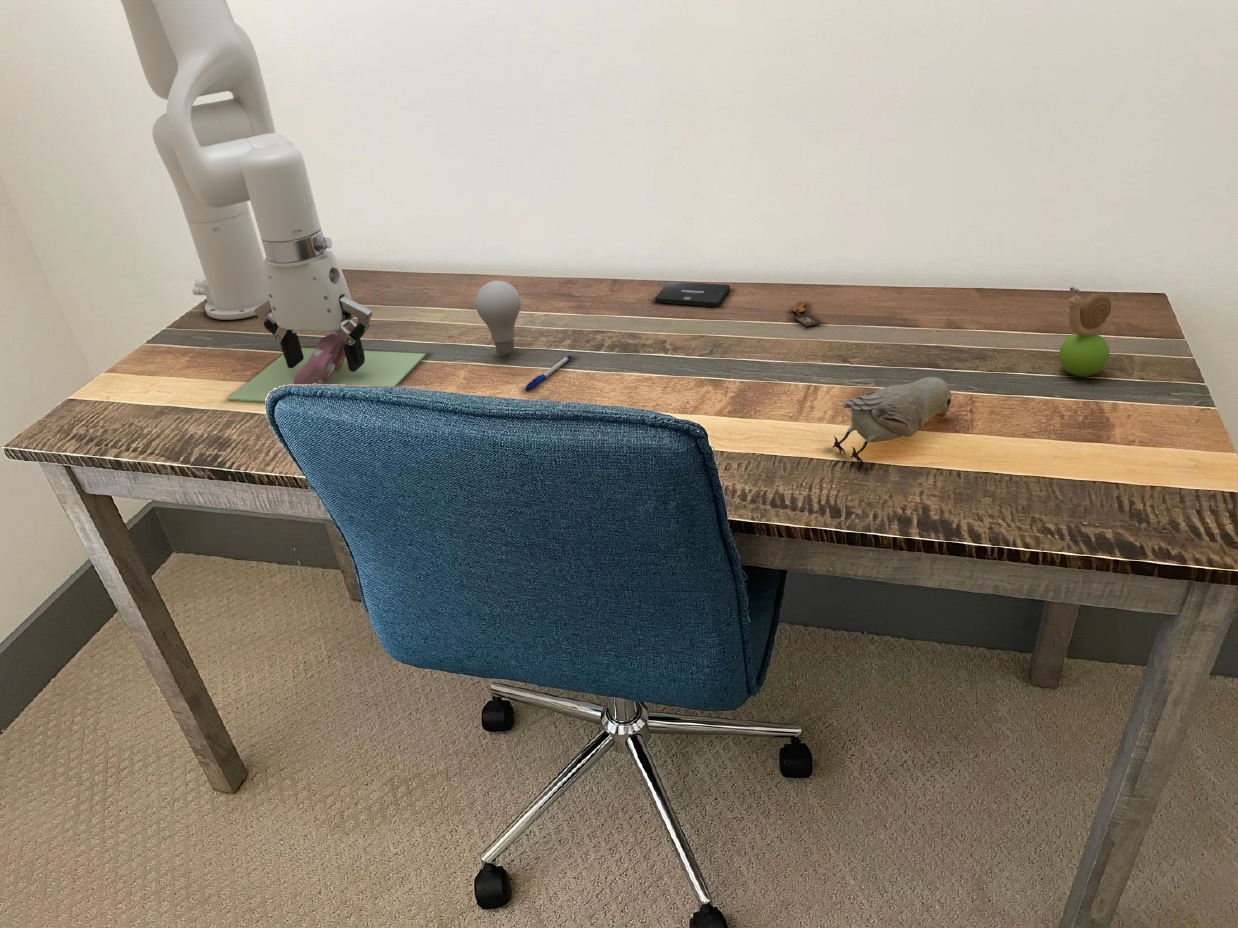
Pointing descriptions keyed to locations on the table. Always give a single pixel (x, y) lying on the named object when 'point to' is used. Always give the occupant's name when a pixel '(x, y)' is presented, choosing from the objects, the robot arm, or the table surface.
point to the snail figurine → (1086, 335)
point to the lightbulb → (499, 313)
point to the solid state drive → (692, 293)
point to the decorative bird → (896, 411)
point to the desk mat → (373, 372)
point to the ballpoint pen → (546, 374)
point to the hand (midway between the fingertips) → (326, 365)
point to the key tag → (804, 316)
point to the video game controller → (323, 360)
